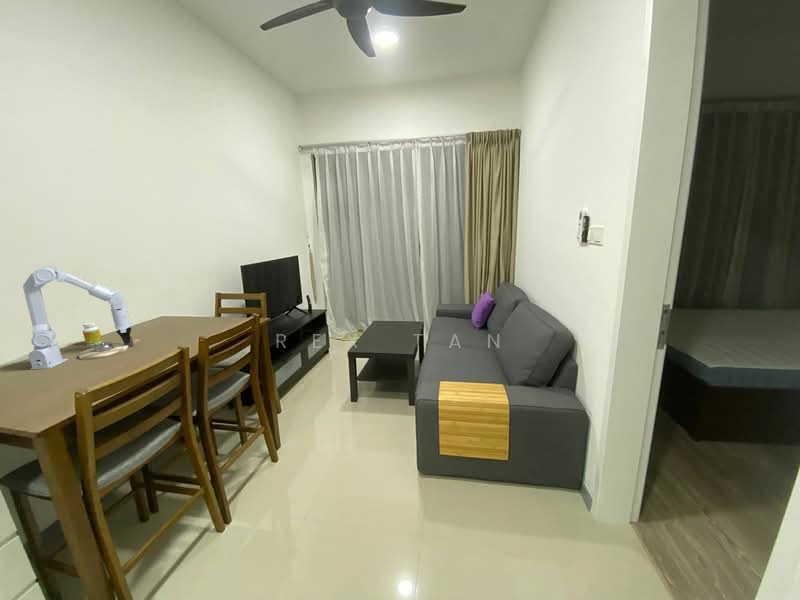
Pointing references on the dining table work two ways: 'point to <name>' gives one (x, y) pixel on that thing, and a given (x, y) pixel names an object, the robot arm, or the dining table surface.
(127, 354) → the dining table surface
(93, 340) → the supplement bottle
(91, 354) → the turntable
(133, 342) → the peach rectangular brick
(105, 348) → the cover
